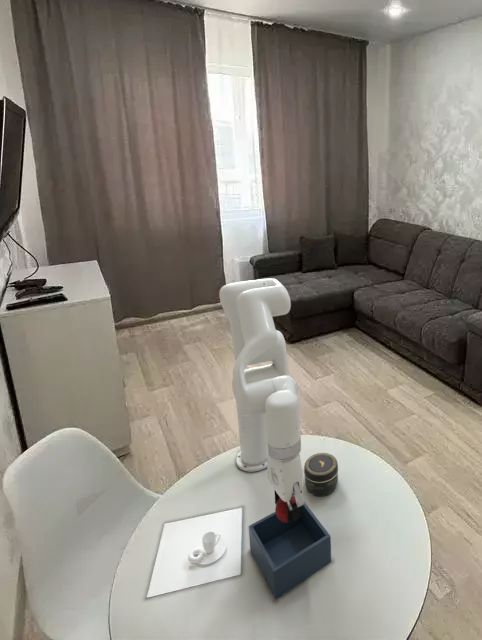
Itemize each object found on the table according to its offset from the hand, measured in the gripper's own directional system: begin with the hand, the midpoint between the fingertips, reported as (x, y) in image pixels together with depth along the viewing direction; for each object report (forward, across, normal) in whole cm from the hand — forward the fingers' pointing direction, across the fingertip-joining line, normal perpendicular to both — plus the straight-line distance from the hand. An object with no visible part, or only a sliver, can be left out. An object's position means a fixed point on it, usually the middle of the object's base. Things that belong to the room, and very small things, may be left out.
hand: (287, 510), depth 98 cm
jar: (+14, -15, +18) cm, 27 cm away
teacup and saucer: (+14, -16, -17) cm, 27 cm away
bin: (+14, 0, 0) cm, 14 cm away
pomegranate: (+3, 0, 0) cm, 3 cm away
